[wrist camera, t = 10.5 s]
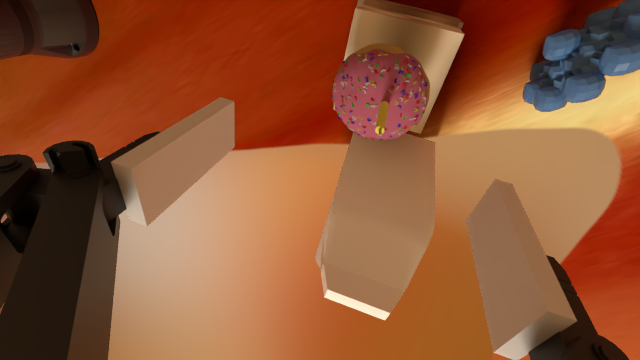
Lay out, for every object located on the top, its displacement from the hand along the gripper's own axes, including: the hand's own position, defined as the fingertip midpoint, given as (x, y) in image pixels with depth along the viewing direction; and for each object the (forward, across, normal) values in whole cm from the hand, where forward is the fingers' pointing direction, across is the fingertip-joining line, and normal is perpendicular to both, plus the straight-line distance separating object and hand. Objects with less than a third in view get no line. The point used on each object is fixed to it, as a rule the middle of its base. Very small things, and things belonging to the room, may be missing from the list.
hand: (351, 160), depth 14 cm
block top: (+23, -1, 0) cm, 23 cm away
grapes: (+29, -17, -5) cm, 34 cm away
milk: (+29, -4, +16) cm, 33 cm away
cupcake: (+18, -1, 0) cm, 18 cm away
